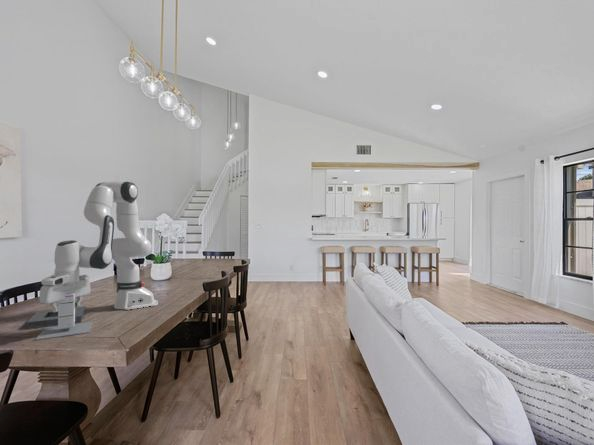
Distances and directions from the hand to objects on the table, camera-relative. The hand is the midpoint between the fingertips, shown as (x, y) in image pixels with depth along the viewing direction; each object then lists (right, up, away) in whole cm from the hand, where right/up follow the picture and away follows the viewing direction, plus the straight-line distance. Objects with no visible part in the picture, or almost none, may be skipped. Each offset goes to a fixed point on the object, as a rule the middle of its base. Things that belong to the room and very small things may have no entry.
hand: (66, 309), depth 135 cm
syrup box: (0, -8, 0) cm, 8 cm away
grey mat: (0, -10, 0) cm, 10 cm away
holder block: (-15, -10, +15) cm, 24 cm away
